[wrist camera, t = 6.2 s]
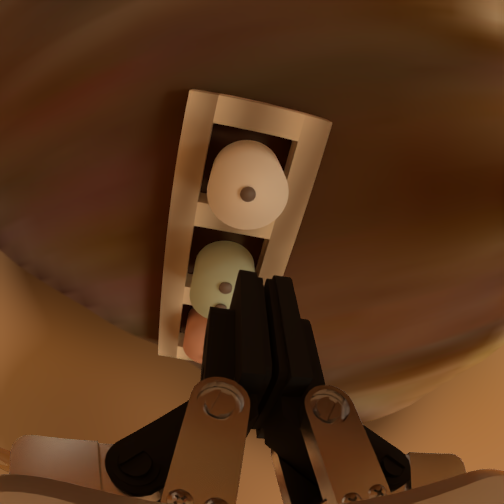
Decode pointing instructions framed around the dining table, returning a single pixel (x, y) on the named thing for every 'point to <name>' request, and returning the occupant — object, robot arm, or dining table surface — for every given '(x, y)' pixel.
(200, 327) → the button three
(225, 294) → the button two
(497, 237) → the dining table surface
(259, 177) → the button one
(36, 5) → the dining table surface
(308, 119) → the wooden panel frame
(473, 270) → the dining table surface
